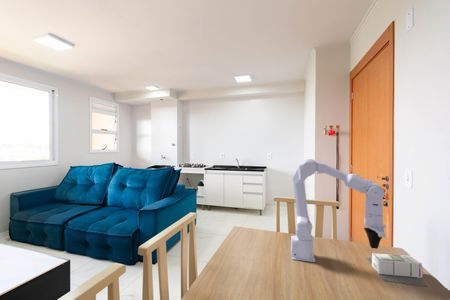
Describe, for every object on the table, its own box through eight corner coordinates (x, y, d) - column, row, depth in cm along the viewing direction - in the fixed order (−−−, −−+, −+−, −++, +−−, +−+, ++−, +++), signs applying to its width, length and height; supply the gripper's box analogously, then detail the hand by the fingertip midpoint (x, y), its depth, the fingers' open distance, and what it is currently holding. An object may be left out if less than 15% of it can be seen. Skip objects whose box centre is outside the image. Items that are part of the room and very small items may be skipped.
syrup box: (378, 274, 80) (423, 279, 77) (378, 259, 80) (423, 263, 77) (371, 266, 85) (412, 270, 82) (371, 251, 85) (412, 255, 82)
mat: (384, 280, 76) (384, 280, 76) (366, 258, 92) (366, 257, 92) (427, 286, 73) (427, 285, 73) (401, 261, 88) (401, 261, 88)
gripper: (395, 220, 74) (395, 258, 74) (377, 208, 88) (377, 240, 88) (372, 219, 76) (373, 256, 76) (358, 207, 90) (358, 238, 90)
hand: (373, 247), depth 82 cm, fingers closed
